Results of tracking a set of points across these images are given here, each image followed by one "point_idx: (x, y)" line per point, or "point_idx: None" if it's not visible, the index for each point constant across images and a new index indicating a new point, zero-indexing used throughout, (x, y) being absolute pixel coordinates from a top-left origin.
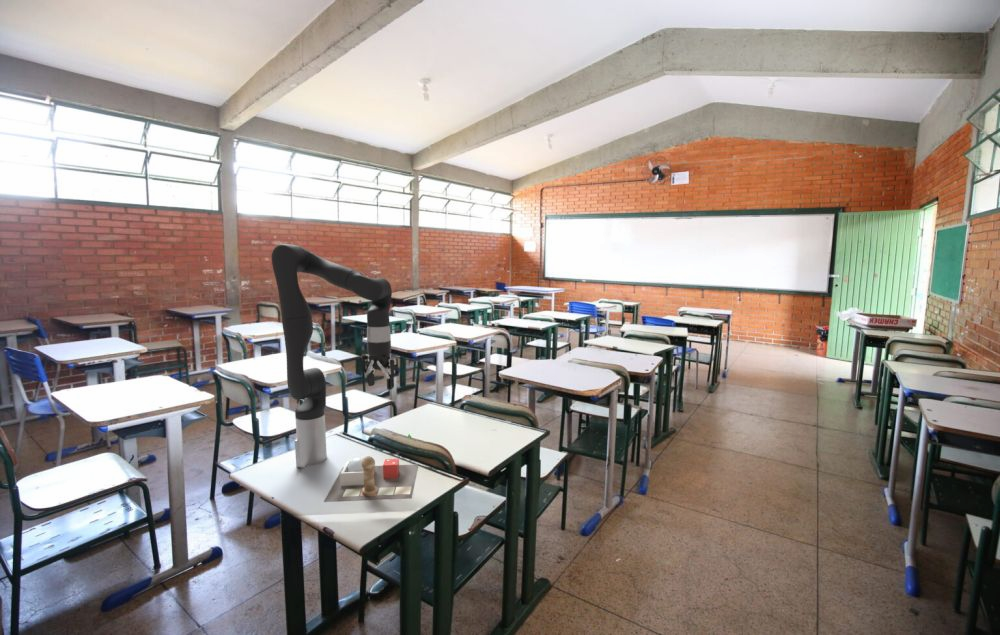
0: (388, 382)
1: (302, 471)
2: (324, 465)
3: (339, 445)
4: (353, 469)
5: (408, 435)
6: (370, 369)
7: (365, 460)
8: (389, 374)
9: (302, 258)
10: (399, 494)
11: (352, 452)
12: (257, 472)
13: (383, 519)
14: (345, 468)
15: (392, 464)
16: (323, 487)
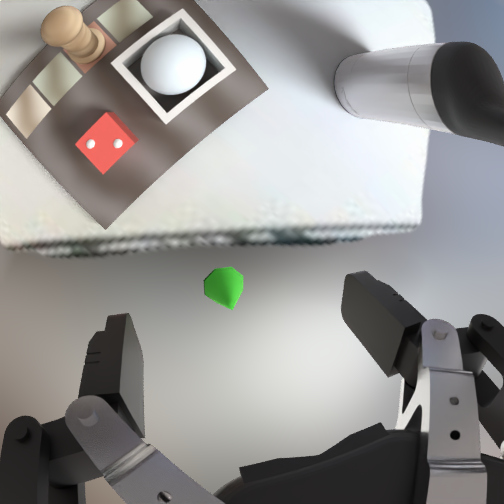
0: (100, 363)
1: (347, 45)
2: (332, 90)
3: (383, 189)
4: (161, 37)
5: (231, 304)
6: (428, 385)
7: (53, 10)
8: (84, 450)
9: None
10: (21, 94)
11: (331, 180)
12: (410, 14)
13: (5, 31)
14: (197, 34)
15: (87, 136)
16: (234, 10)
